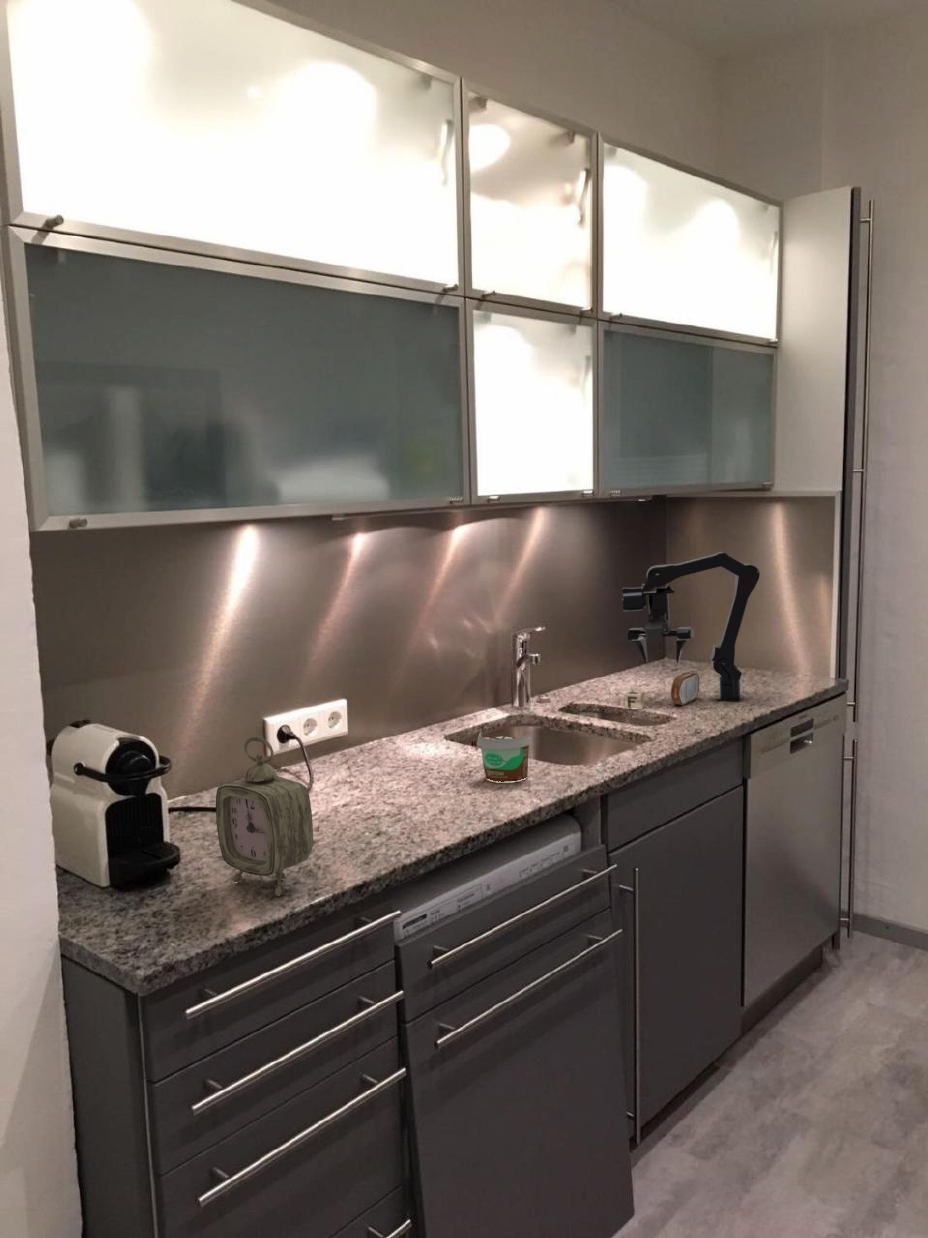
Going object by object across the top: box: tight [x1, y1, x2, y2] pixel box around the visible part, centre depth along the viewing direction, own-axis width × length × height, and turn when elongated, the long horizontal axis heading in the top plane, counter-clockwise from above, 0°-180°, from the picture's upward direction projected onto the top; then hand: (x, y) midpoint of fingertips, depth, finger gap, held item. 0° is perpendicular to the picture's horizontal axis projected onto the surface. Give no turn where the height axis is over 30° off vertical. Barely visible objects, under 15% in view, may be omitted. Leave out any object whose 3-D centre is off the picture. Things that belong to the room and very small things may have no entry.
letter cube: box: [624, 690, 646, 709], centre depth 287 cm, size 5×4×5 cm
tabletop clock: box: [215, 736, 314, 896], centre depth 166 cm, size 14×9×25 cm, turn 51°
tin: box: [670, 671, 700, 706], centre depth 290 cm, size 15×3×8 cm, turn 144°
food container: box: [476, 732, 533, 782], centre depth 220 cm, size 12×6×10 cm, turn 68°
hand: (661, 662), depth 293 cm, fingers open, 9 cm apart
